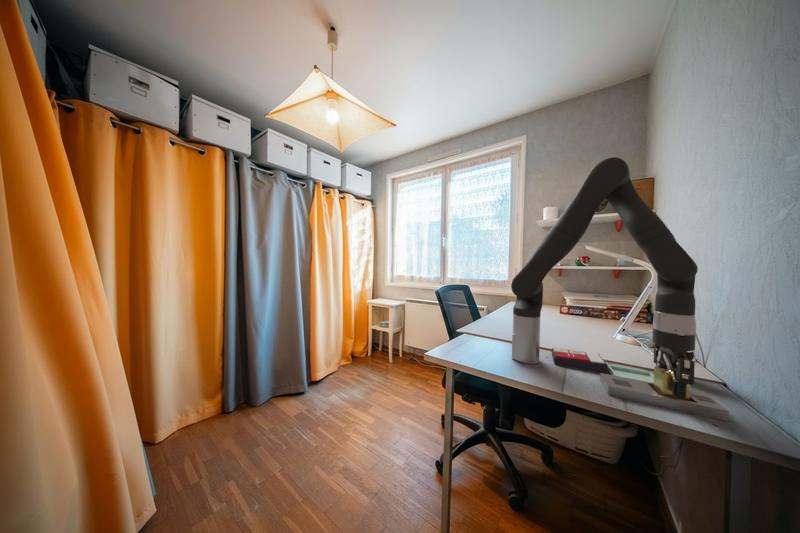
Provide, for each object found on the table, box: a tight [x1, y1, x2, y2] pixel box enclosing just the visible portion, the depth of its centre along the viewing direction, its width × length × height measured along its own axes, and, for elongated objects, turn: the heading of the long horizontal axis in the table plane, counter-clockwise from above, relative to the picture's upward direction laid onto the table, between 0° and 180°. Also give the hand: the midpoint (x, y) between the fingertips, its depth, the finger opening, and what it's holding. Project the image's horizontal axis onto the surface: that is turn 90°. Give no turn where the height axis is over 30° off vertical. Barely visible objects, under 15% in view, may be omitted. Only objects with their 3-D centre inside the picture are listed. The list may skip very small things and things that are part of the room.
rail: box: [599, 373, 730, 422], centre depth 65 cm, size 22×9×3 cm, turn 61°
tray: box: [606, 363, 654, 383], centre depth 75 cm, size 11×11×2 cm
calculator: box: [551, 347, 608, 374], centre depth 87 cm, size 11×4×15 cm
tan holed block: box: [653, 366, 691, 401], centre depth 63 cm, size 5×5×8 cm
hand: (670, 388), depth 63 cm, fingers open, 7 cm apart
